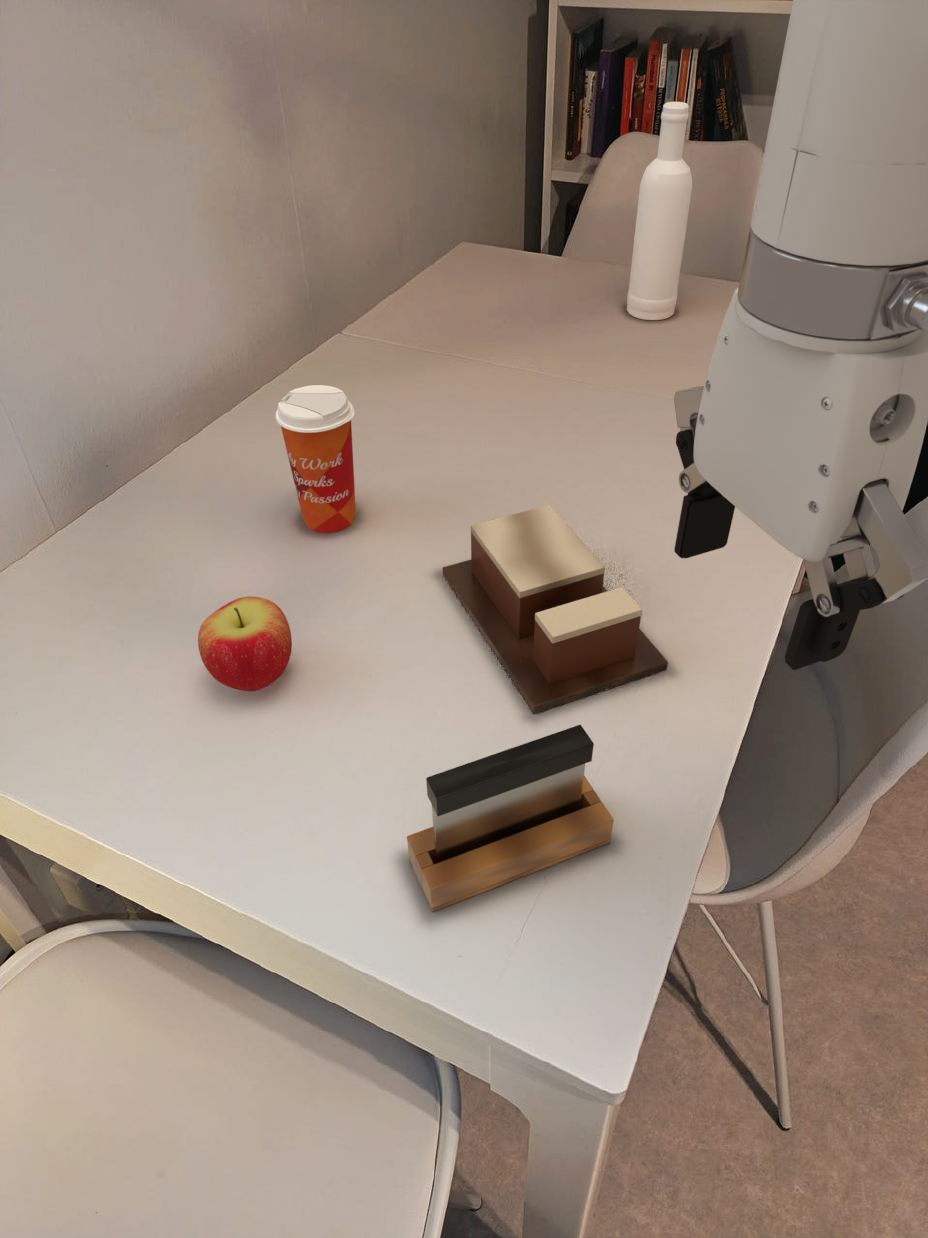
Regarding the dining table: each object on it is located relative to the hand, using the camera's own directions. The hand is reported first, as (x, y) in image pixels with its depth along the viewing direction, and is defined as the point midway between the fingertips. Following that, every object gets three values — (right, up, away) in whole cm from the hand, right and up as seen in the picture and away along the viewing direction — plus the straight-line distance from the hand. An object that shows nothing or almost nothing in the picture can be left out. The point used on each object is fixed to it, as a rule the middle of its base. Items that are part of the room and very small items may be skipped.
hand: (752, 600), depth 47 cm
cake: (-7, 0, +42) cm, 43 cm away
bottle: (+15, +49, +98) cm, 111 cm away
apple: (-35, -7, +36) cm, 51 cm away
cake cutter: (-12, -19, +21) cm, 31 cm away
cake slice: (-4, -5, +36) cm, 36 cm away
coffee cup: (-31, +11, +56) cm, 65 cm away
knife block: (-12, -19, +22) cm, 31 cm away
